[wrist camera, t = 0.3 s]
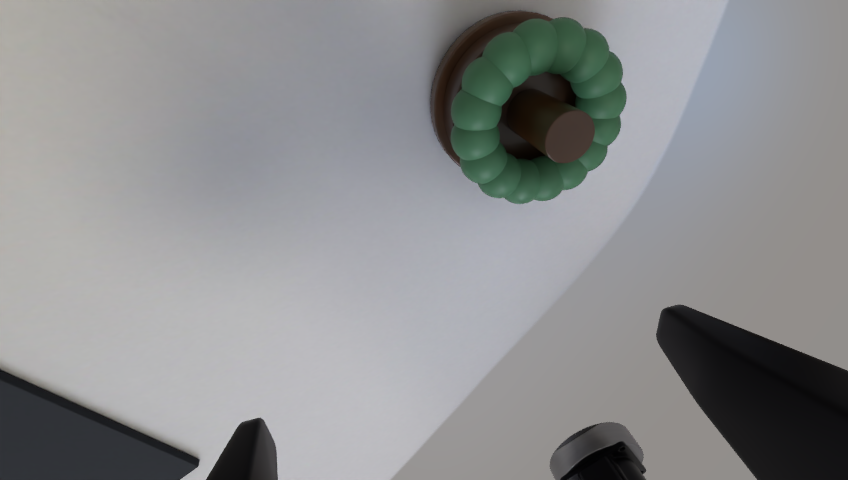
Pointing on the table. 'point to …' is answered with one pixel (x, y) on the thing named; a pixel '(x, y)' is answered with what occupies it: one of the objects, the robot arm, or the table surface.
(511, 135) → the stand
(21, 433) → the mat
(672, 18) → the table surface
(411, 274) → the table surface
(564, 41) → the ring
